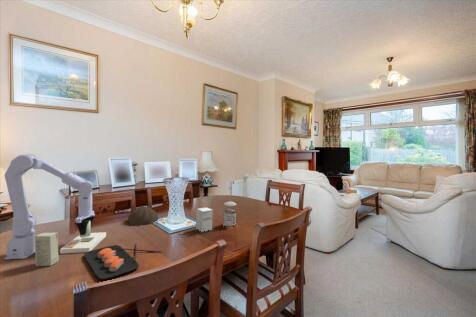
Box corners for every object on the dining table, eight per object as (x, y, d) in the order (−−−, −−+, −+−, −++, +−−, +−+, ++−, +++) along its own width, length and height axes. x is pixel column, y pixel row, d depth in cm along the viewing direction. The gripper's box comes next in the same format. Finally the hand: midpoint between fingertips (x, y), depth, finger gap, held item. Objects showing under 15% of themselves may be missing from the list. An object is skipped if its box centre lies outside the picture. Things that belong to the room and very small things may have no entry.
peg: (87, 237, 110) (87, 223, 110) (77, 237, 110) (77, 223, 110) (92, 233, 115) (92, 220, 115) (82, 234, 114) (82, 220, 114)
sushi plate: (82, 256, 100) (82, 248, 100) (149, 239, 121) (149, 232, 121) (99, 285, 80) (99, 275, 80) (176, 259, 101) (176, 250, 101)
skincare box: (59, 261, 95) (59, 232, 95) (50, 266, 91) (50, 236, 90) (43, 260, 95) (43, 232, 94) (34, 266, 90) (34, 235, 90)
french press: (239, 226, 145) (240, 187, 144) (222, 228, 140) (223, 188, 140) (234, 222, 154) (235, 185, 153) (217, 223, 150) (218, 185, 149)
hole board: (89, 252, 104) (89, 247, 104) (59, 253, 102) (59, 248, 101) (106, 235, 123) (106, 231, 123) (81, 236, 121) (81, 232, 121)
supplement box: (201, 232, 132) (202, 211, 132) (195, 229, 138) (196, 208, 137) (212, 230, 137) (213, 209, 136) (206, 226, 143) (206, 207, 142)
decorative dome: (148, 227, 139) (148, 211, 139) (119, 224, 143) (119, 208, 143) (164, 218, 158) (164, 204, 158) (138, 216, 162) (139, 202, 162)
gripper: (87, 209, 106) (87, 237, 106) (100, 202, 120) (100, 227, 120) (70, 209, 104) (70, 238, 105) (85, 202, 118) (85, 228, 119)
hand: (85, 232), depth 112 cm, fingers closed on peg, 4 cm apart
